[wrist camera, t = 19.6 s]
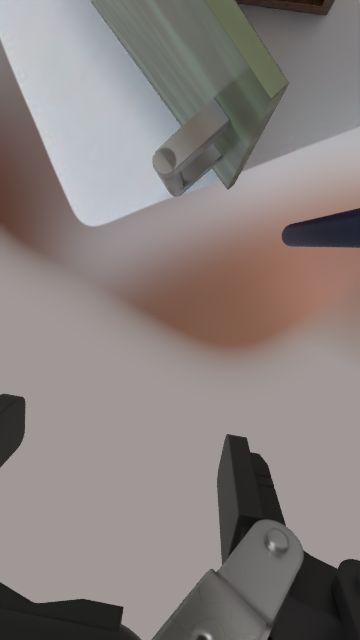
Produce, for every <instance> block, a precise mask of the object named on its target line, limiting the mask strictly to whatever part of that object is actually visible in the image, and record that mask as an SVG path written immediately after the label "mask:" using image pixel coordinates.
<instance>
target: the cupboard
mask: <svg viewBox="0 0 360 640" xmlns="http://www.w3.org/2000/svg"><path fill="white" fill-rule="evenodd" d="M235 1H236V2H237V3H242V4H249V5H257V6H264V7H271V8H279V9H286V10H293V11H300V12H308V13H315V14H322V15H327V14H328V12H329V10H330V8H331V6H332V4H333V2H334V1H335V0H235Z"/></svg>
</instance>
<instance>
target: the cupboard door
mask: <svg viewBox="0 0 360 640" xmlns="http://www.w3.org/2000/svg"><path fill="white" fill-rule="evenodd" d="M90 1H91V2H92V4H93V5H94V7H95V8H96V9H97V11H98V12H99V13H100V15H101V16H102V18H103V19H104V20H105V22H106V23H107V24H108V26H109V27H110V29H111V30H112V31H113V33H114V34H115V35H116V37H117V38H118V40H119V41H120V42H121V44H122V45H123V46H124V48H125V49H126V51H127V52H128V53H129V55H130V56H131V57H132V59H133V60H134V62H135V63H136V64H137V66H138V67H139V68H140V70H141V71H142V73H143V74H144V75H145V77H146V78H147V79H148V81H149V82H150V84H151V85H152V86H153V88H154V89H155V90H156V92H157V93H158V95H159V96H160V97H161V99H162V100H163V101H164V103H165V104H166V106H167V107H168V108H169V110H170V111H171V112H172V114H173V115H174V117H175V118H176V119H177V121H178V122H179V123H180V125H181V126H182V127H181V128H180V129H179V130H178V131H177V132H176V133H175V134H174V135H173V136H172V137H171V138H169V139H168V140H167V141H166V142H165V143H164V144H163V145H162V146H161V147H160V148H159V149H158V150H157V151H156V152H155V153H154V155H153V159H152V163H153V167H154V169H155V170H156V172H157V174H158V175H159V177H160V178H161V180H162V182H163V183H164V185H165V187H166V188H167V190H168V191H169V193H170V194H171V195H173V196H180V195H181V194H183V193H184V192H185V191H186V190H187V189H188V188H190V187H191V186H192V185H193V184H194V183H195V182H196V181H198V180H199V179H200V178H201V177H202V176H203V175H204V174H205V173H207V172H208V171H209V170H210V169H211V168H212V169H213V170H214V172H215V173H216V174H217V176H218V177H219V178H220V180H221V181H222V183H223V184H224V185H225V187H226V188H227V189H229V188H230V187H232V186H233V185H234V184H235V182H236V180H237V178H238V176H239V174H240V173H241V171H242V169H243V167H244V165H245V163H246V161H247V160H248V158H249V156H250V154H251V152H252V150H253V148H254V147H255V145H256V143H257V141H258V139H259V137H260V136H261V134H262V132H263V130H264V128H265V126H266V124H267V123H268V121H269V119H270V117H271V115H272V113H273V112H274V110H275V108H276V106H277V104H278V102H279V100H280V99H281V97H282V95H283V93H284V91H285V89H286V87H287V86H288V84H289V82H288V81H287V79H286V78H285V76H284V75H283V73H282V72H281V70H280V69H279V67H278V65H277V64H276V62H275V61H274V59H273V58H272V56H271V55H270V53H269V52H268V50H267V49H266V47H265V45H264V44H263V42H262V41H261V39H260V38H259V36H258V35H257V33H256V32H255V30H254V29H253V27H252V25H251V24H250V22H249V21H248V19H247V18H246V16H245V15H244V13H243V12H242V10H241V9H240V7H239V6H238V4H237V2H236V1H235V0H90Z"/></svg>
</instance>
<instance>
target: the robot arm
mask: <svg viewBox="0 0 360 640" xmlns="http://www.w3.org/2000/svg"><path fill="white" fill-rule="evenodd" d="M24 432H25V399H24V398H23V397H20V396H14V395H9V394H2V395H0V467H1V466H2V465H3V464H4V463H5V462H6V461H7V460H8V458H9V457H10V456H11V455H12V454H13V453H14V452H15V451H16V449H17V448H18V447H19V446H20V444H21V442H22V440H23V436H24ZM217 488H218V506H219V520H220V538H221V554H222V566H221V568H220V569H219V570H218V571H217V572H215V571H214V570H213V569H211V570H209V571H208V572H207V573H206V574H205V575H204V576H203V577H202V578H201V579H200V581H199V582H198V583H197V584H196V586H195V587H194V588H193V589H192V591H191V592H190V593H189V594H188V596H187V597H186V598H185V599H184V600H183V602H182V603H181V604H180V605H179V607H178V608H177V609H176V610H175V611H174V613H173V614H172V615H171V616H170V618H169V619H168V620H167V621H166V623H165V624H164V625H163V626H162V628H161V629H160V630H159V631H158V632H157V634H156V635H155V636H154V637H153V639H152V640H360V561H358V560H354V559H348V560H344V561H342V562H341V563H340V565H339V567H338V569H337V568H335V567H332V566H330V565H328V564H326V563H324V562H322V561H320V560H318V559H316V558H314V557H313V556H311V555H309V554H308V553H306V552H305V551H304V550H303V548H302V545H301V543H300V541H299V540H298V538H297V537H296V536H295V535H294V533H293V532H292V531H291V530H290V529H288V528H287V527H286V525H285V521H284V518H283V515H282V511H281V508H280V505H279V502H278V498H277V495H276V491H275V489H274V484H273V481H272V479H271V474H270V471H269V468H268V465H267V463H266V462H265V461H264V459H263V458H262V457H261V456H260V455H259V454H257V453H251V452H250V450H249V446H248V441H247V438H246V437H240V436H235V435H229V434H227V435H226V438H225V442H224V447H223V451H222V455H221V460H220V464H219V469H218V478H217ZM122 614H123V607H121V606H116V605H111V604H106V603H101V602H96V601H91V600H86V599H77V600H67V601H58V602H48V603H33V602H31V601H30V600H28V599H26V598H25V597H23V596H22V595H20V594H18V593H17V592H15V591H13V590H12V589H10V588H9V587H7V586H5V585H4V584H2V583H0V640H141V639H140V638H139V637H138V636H137V635H136V634H135V633H134V632H133V631H131V630H130V629H129V628H127V627H126V626H124V625H122V624H121V620H122Z"/></svg>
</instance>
